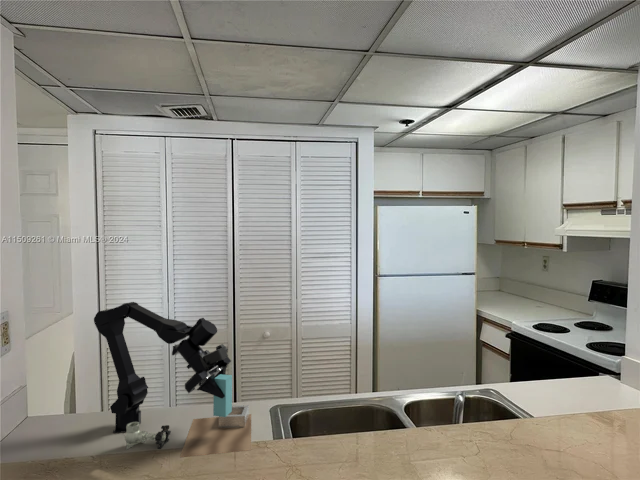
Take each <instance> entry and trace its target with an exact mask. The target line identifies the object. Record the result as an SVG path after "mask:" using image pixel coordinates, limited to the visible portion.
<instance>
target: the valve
mask: <svg viewBox="0 0 640 480" xmlns="http://www.w3.org/2000/svg"><path fill="white" fill-rule="evenodd" d="M160 429H161V430H160V431H158V432H157V433H156V434H155V433H152V432H151V433H148V431H147V430H140V425H139V422H132V423H129V424H127V427H126V432H125V435H124V440H125V443H126V445H125V448H126V449H125V450H126V451H127V450H129V449H131V448H132V447H135V446H136V445H138V444H140V443H145V442H146V441H154V440H155V445H158V446H157V448H156V449H157V450H161V449H162V448H163V447H164V446H165V445H166V444H167V443H168V442H169V441H170V438H169V435H171V432H172V430H169V429H170V425H169V424H165V425H161V427H160Z"/></svg>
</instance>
